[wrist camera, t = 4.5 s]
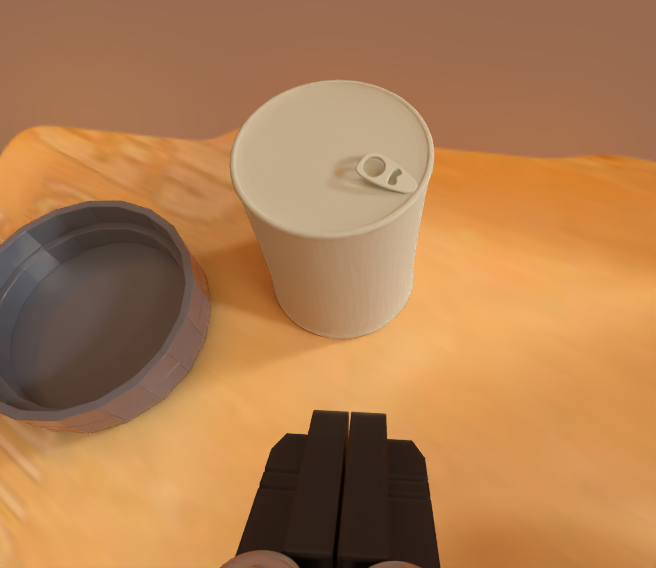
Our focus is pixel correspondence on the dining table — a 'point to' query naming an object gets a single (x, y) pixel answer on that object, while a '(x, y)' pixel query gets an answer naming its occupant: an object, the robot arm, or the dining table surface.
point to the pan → (96, 316)
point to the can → (336, 201)
